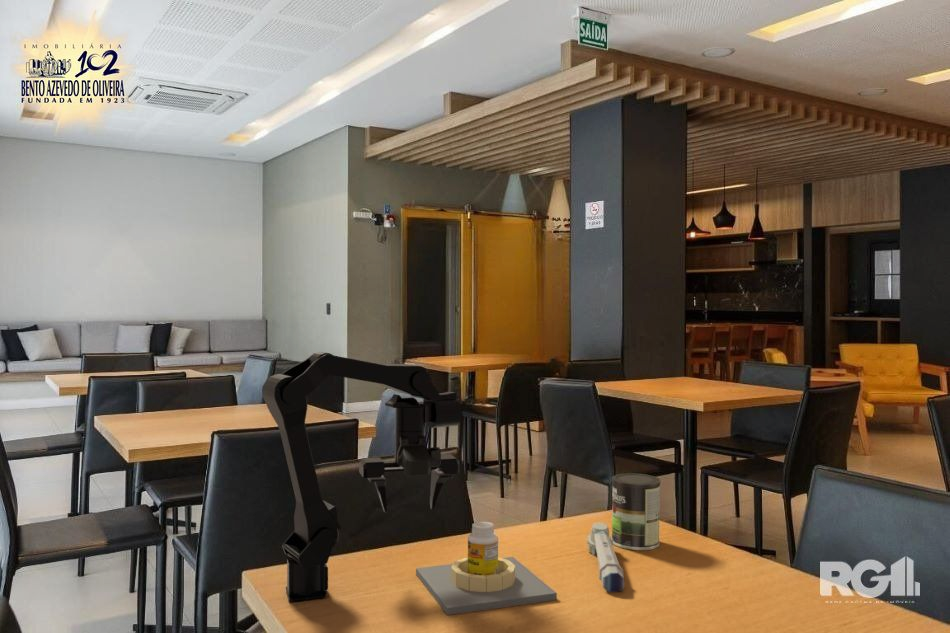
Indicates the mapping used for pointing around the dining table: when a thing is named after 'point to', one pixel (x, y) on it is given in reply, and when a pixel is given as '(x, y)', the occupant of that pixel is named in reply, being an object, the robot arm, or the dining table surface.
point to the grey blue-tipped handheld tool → (605, 557)
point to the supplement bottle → (482, 549)
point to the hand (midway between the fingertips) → (408, 510)
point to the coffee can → (635, 511)
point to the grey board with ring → (483, 586)
